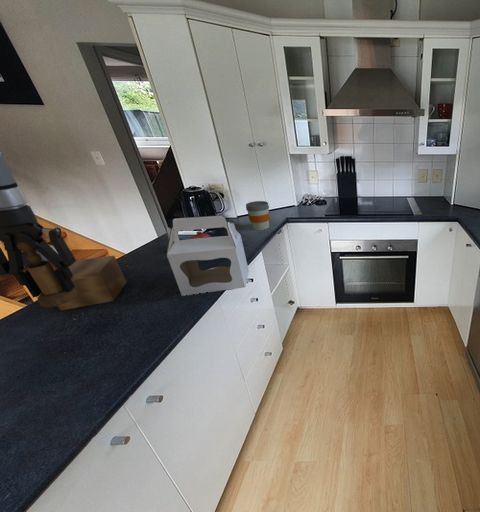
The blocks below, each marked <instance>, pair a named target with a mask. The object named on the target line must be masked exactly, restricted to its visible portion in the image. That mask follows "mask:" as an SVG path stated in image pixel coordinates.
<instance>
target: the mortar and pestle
mask: <svg viewBox="0 0 480 512" xmlns="http://www.w3.org/2000/svg"><path fill="white" fill-rule="evenodd" d="M16 247H17V248H18V249H19V250H21V251H22V253H25V254H26V255H27V256H26V257H25V259H26V260H27V261H28V262H29V263H30V264H28V265H26V266H25V268H26V270H27V271H29V272H30V274H31V276H32V277H33V279H34V280H35V282H36V283H37V285H38V286H39V288H40V290H41V291H42V293H41V294H40V295H39V296H38V297H37V301H38V303H39V304H40V306H41V307H42V308H45V309H46V308H47V309H48V308H54V307H58V306H59V305H62V304H65V303H67V302H70V301H71V300H73V299H75V298H76V297H77V294H76V292H75V291H74V289H72V290H71V291H70V292H66V291H65V289H64V287H63V286H62V284H61V282H60V281H59V279H58V277H57V276H56V274H55V272H54V270H55V269H54V268H53V267H54V266H53V264H51V263H50V262H49V261H48V260H42V255H41V254H40V253H37V252H36V249H33V248H32V247H31V246H29V245H28V244H27V243H23V242H20V243H18V244H17V245H16Z"/></svg>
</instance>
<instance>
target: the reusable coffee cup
mask: <svg viewBox="0 0 480 512" xmlns="http://www.w3.org/2000/svg"><path fill="white" fill-rule="evenodd" d="M245 209H246V211H247V216H248V219H249V222H251V225H252V228H253V230H255V231H264V229H265V230H268V229H269V228H270V219H271V218H270V217H271V216H270V215H271V214H270V205H269V202H268V201H265V200H255V201H250V202H247V203H246V204H245ZM267 228H268V229H267Z"/></svg>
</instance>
